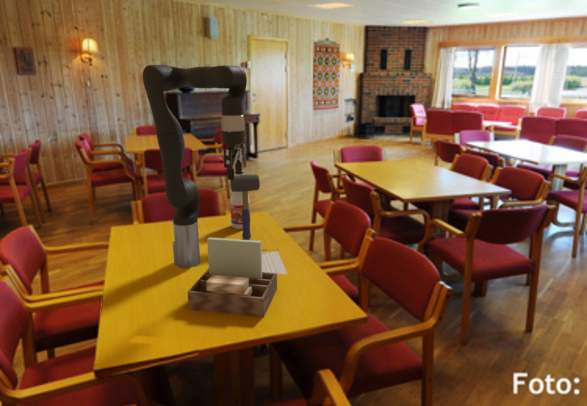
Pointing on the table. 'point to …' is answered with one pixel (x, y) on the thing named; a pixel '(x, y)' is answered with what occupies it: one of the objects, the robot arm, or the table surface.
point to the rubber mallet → (245, 197)
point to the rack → (234, 297)
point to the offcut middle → (247, 293)
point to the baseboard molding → (272, 263)
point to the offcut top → (227, 284)
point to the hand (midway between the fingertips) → (235, 177)
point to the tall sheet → (235, 257)
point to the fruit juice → (237, 207)
